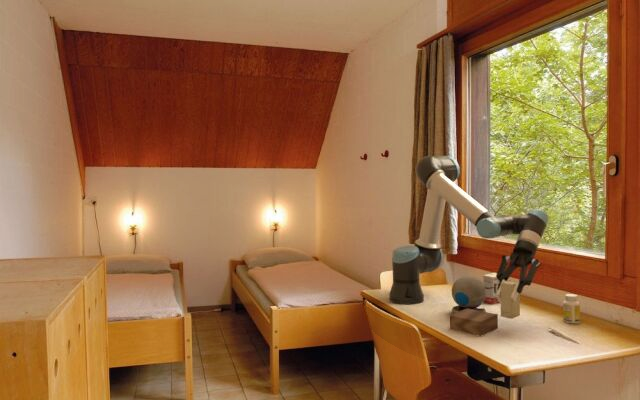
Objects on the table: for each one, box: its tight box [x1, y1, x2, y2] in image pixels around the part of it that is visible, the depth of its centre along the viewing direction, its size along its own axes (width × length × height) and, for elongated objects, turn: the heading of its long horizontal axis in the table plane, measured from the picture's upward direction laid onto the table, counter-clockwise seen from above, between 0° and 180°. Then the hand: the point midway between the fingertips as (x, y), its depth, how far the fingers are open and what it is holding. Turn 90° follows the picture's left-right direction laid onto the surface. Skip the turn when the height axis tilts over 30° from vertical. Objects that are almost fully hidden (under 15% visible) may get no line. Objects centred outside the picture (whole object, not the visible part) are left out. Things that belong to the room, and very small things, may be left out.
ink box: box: [483, 272, 501, 305], centre depth 206 cm, size 8×5×12 cm, turn 123°
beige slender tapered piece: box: [548, 325, 581, 345], centre depth 159 cm, size 15×3×2 cm, turn 12°
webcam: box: [451, 275, 487, 315], centre depth 189 cm, size 13×13×15 cm
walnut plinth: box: [449, 308, 499, 337], centre depth 170 cm, size 12×12×5 cm
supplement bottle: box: [562, 293, 581, 324], centre depth 175 cm, size 5×5×10 cm
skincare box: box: [500, 279, 521, 320], centre depth 168 cm, size 6×4×12 cm
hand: (505, 298), depth 166 cm, fingers closed on skincare box, 4 cm apart
